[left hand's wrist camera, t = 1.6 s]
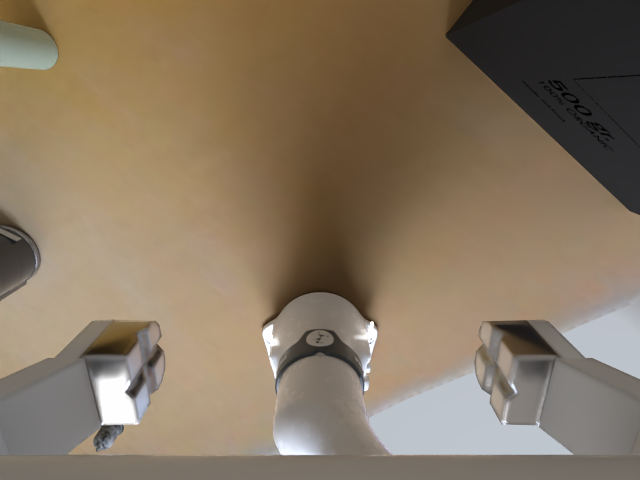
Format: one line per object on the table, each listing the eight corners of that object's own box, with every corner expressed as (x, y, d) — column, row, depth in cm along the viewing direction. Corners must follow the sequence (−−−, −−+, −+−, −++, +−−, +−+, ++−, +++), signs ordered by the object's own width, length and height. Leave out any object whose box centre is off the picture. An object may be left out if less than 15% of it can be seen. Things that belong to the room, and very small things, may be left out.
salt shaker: (110, 396, 70) (69, 454, 59) (125, 374, 69) (87, 430, 57) (139, 412, 71) (106, 472, 60) (155, 391, 70) (123, 448, 59)
